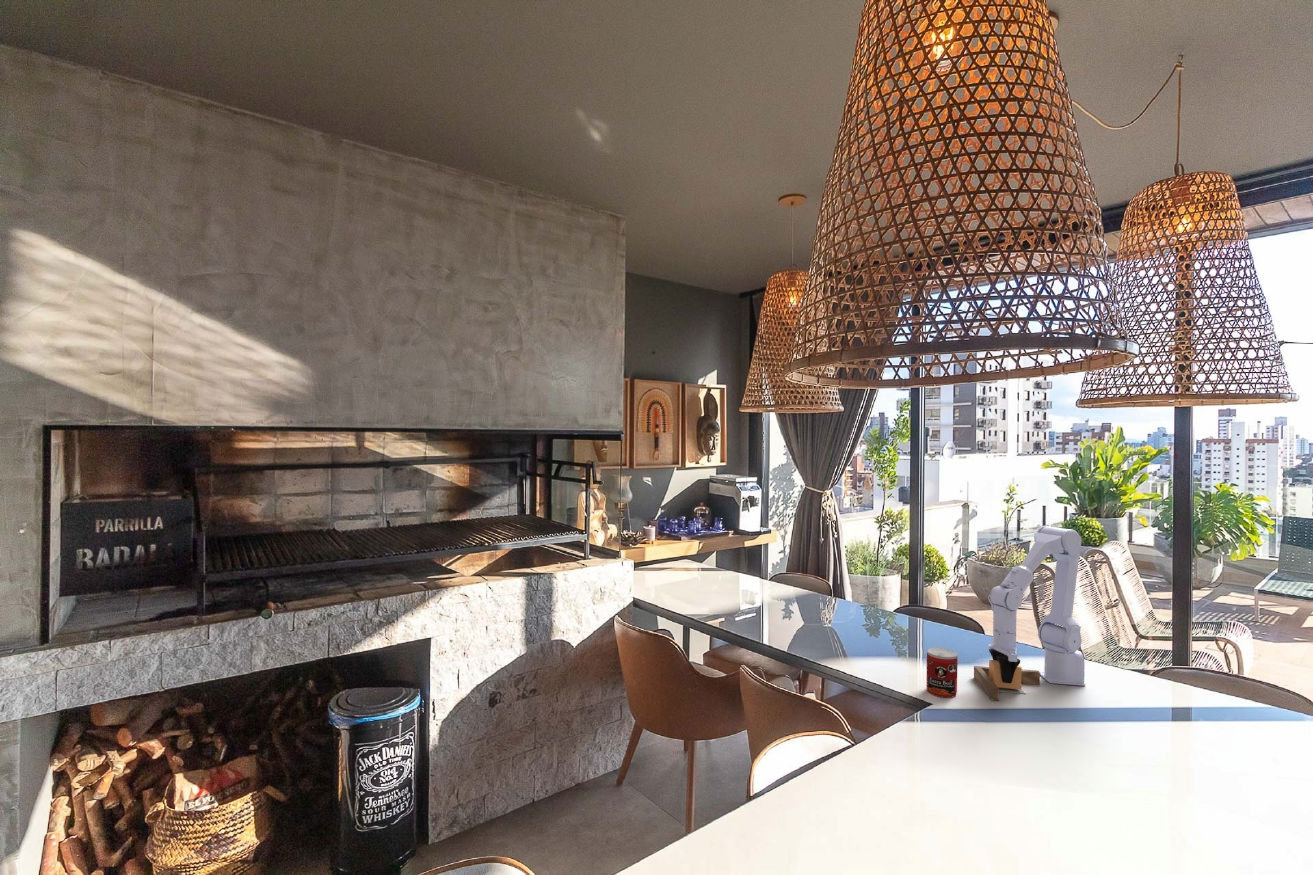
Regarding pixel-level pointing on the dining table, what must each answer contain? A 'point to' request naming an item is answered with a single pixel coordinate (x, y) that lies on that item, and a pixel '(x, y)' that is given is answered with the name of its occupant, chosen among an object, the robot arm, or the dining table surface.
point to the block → (997, 679)
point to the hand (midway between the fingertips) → (1003, 679)
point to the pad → (1011, 690)
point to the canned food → (942, 672)
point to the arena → (992, 689)
